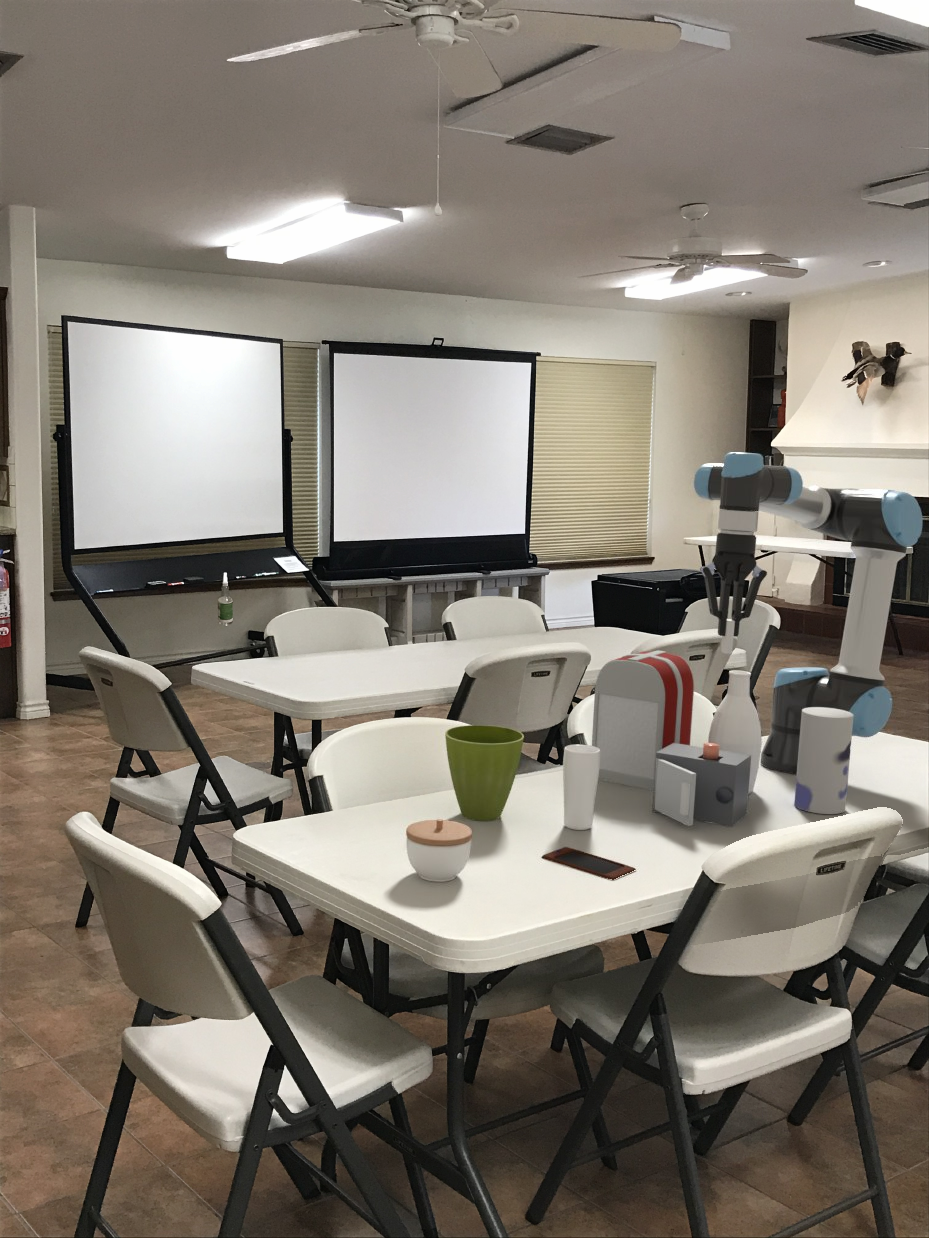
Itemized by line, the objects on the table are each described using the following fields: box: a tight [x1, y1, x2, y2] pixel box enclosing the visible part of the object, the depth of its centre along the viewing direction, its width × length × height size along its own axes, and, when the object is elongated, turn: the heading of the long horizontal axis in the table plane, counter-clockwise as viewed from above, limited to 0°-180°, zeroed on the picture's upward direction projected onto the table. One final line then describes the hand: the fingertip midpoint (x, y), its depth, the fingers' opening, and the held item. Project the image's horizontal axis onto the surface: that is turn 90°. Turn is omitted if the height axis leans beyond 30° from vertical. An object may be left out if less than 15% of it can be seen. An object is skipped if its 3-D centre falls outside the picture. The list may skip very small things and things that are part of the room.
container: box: [793, 707, 854, 815], centre depth 241 cm, size 10×10×20 cm
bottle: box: [707, 669, 763, 795], centre depth 252 cm, size 11×11×25 cm
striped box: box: [591, 649, 695, 792], centre depth 260 cm, size 17×18×27 cm
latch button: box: [702, 742, 719, 759], centre depth 231 cm, size 3×3×2 cm
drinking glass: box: [562, 744, 600, 831], centre depth 222 cm, size 7×7×15 cm
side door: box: [652, 758, 696, 827], centre depth 228 cm, size 2×12×10 cm, turn 26°
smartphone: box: [541, 846, 637, 881], centre depth 203 cm, size 7×1×15 cm
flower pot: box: [444, 724, 525, 822], centre depth 226 cm, size 15×15×16 cm
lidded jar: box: [405, 818, 473, 883], centre depth 193 cm, size 11×11×9 cm
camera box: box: [652, 743, 751, 828], centre depth 234 cm, size 11×16×12 cm
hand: (726, 652), depth 234 cm, fingers closed
